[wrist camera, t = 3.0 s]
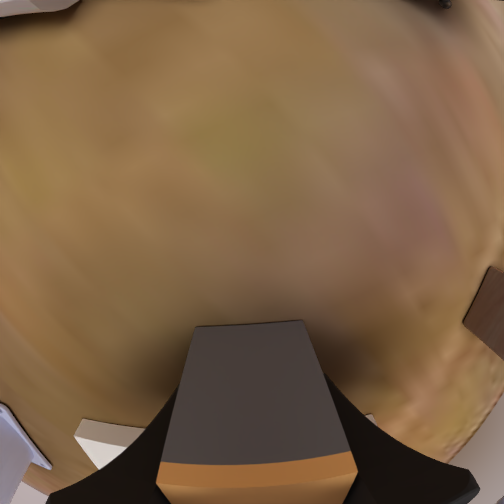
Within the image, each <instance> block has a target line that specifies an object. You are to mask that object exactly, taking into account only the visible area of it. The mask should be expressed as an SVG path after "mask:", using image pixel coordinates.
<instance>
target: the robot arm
mask: <svg viewBox="0 0 504 504" xmlns="http://www.w3.org/2000/svg"><path fill="white" fill-rule="evenodd" d="M323 375H324V378H325V380H326V383H327V386H328V389H329V391H330V394H331V397H332V399H333V402H334V405H335V408H336V410H337V413H338V416H339V419H340V422H341V424H342V427H343V430H344V433H345V436H346V438H347V441H348V444H349V447H350V450H351V453H352V456H353V458H354V461H355V464H356V467H357V470H358V473H357V475H356V477H355V479H354V482H353V484H352V486H351V488H350V490H349V492H348V494H347V496H346V498H345V500H344V501H343V503H342V504H467V503H469V502H470V501H471V500H472V499H473V498H474V497H475V496H476V495H477V494H478V493H479V491H480V487H479V485H478V484H477V482H476V480H475V478H474V477H473V475H472V474H471V472H470V471H469V470H468V469H464V468H460V467H456V466H453V465H449V464H446V463H443V462H440V461H437V460H435V459H432V458H430V457H427V456H425V455H423V454H421V453H419V452H417V451H415V450H413V449H411V448H409V447H407V446H406V445H404V444H402V443H401V442H399V441H397V440H396V439H394V438H393V437H391V436H390V435H388V434H387V433H385V432H384V431H383V430H381V429H380V428H379V427H378V426H376V425H375V424H374V423H373V422H371V421H370V420H369V419H368V418H367V417H366V416H364V415H363V414H362V413H361V412H360V411H359V410H358V409H357V408H356V407H355V406H354V405H353V404H352V403H351V402H350V401H349V400H348V399H347V398H346V397H345V396H344V395H343V394H342V393H341V391H340V390H339V389H338V388H337V387H336V386H335V385H334V383H333V382H332V381H331V380H330V379H329V377H328V376H327V375H326V374H325V373H323ZM179 385H180V384H179ZM179 385H178V387H177V388H176V390H175V391H174V393H173V394H172V395H171V397H170V398H169V400H168V401H167V402H166V404H165V405H164V407H163V408H162V409H161V411H160V412H159V413H158V414H157V416H156V417H155V418H154V419H153V421H152V422H151V423H150V424H149V425H148V426H147V428H146V429H145V430H144V431H143V432H142V433H141V434H140V435H139V437H138V438H137V439H136V440H135V441H134V442H133V443H132V444H130V445H129V446H128V447H127V448H126V449H125V450H124V451H123V452H122V453H121V454H119V455H118V456H117V457H116V458H114V459H113V460H112V461H110V462H109V463H108V464H107V465H105V466H104V467H102V468H101V469H99V470H98V471H96V472H95V473H93V474H91V475H90V476H88V477H86V478H84V479H83V480H81V481H79V482H77V483H75V484H73V485H71V486H68V487H66V488H64V489H61V490H59V491H56V492H54V493H51V494H50V495H49V497H48V499H47V501H46V504H171V503H170V501H169V500H168V499H167V498H166V496H165V495H164V493H163V492H162V491H161V489H160V488H159V487H158V485H157V484H156V480H157V476H158V471H159V467H160V463H161V458H162V454H163V450H164V445H165V441H166V437H167V433H168V429H169V425H170V421H171V416H172V412H173V408H174V405H175V401H176V397H177V393H178V389H179ZM31 462H33V463H35V464H37V465H39V466H42V467H44V468H46V469H49V470H51V469H52V465H51V464H50V463H49V462H48V461H47V460H46V458H45V457H44V456H43V455H42V454H41V453H40V451H39V450H38V449H37V448H36V446H35V445H34V444H33V443H32V441H31V440H30V439H29V437H28V436H27V435H26V433H25V432H24V431H23V429H22V428H21V426H20V425H19V424H18V422H17V421H16V419H15V418H14V416H13V415H12V413H11V412H10V410H9V409H8V408H7V407H6V406H5V405H3V404H0V504H10V502H11V500H12V498H13V496H14V494H15V492H16V490H17V488H18V486H19V484H20V482H21V480H22V478H23V476H24V474H25V472H26V471H27V469H28V467H29V465H30V463H31ZM496 504H504V496H503V497H502V498H501V499H500V500H498V501H497V503H496Z"/></svg>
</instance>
